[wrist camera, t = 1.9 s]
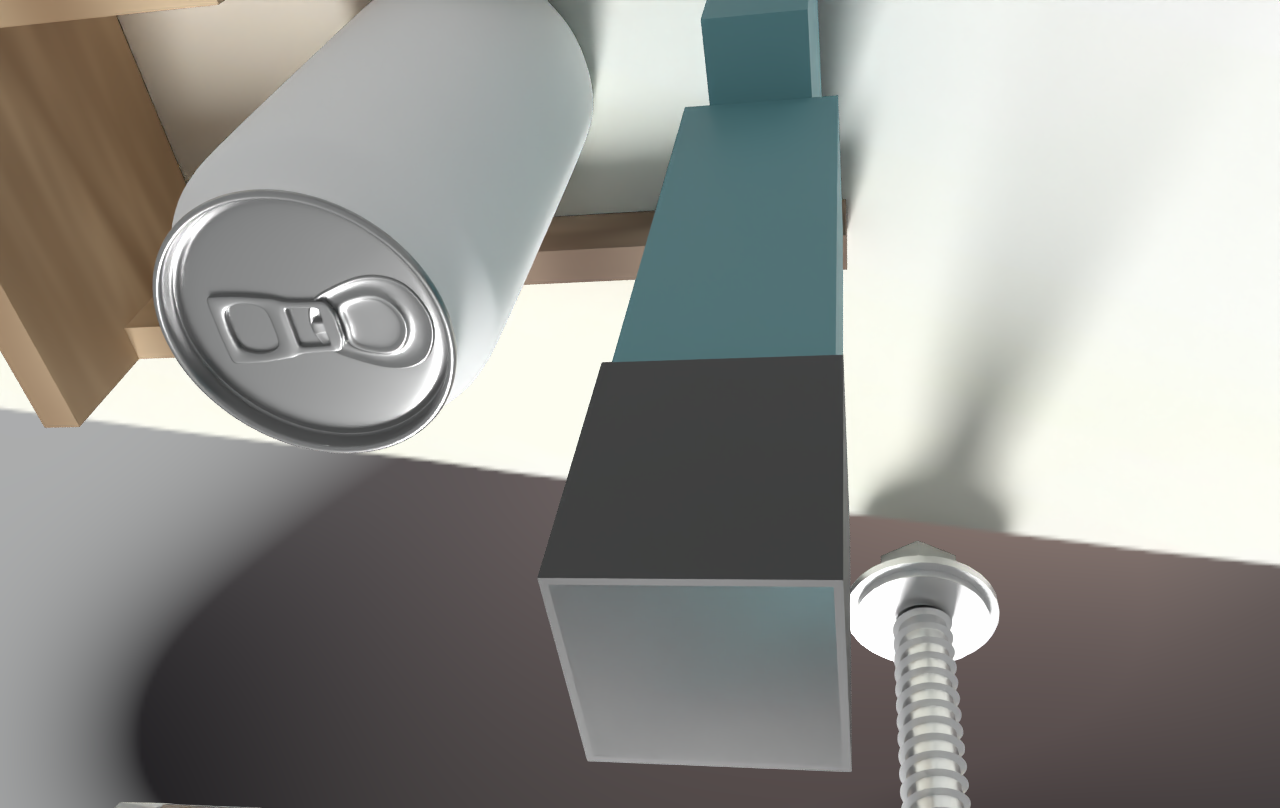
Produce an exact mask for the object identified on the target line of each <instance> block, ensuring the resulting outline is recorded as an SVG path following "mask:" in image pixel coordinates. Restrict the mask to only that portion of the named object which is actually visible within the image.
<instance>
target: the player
mask: <svg viewBox="0 0 1280 808" xmlns="http://www.w3.org/2000/svg"><path fill="white" fill-rule="evenodd" d="M701 26H702V35H703V45H704V54H705V64H706V73H707V82H708V92H709V101H710V105H709V106H696V107H685V109H684V113H683V116H682V120H681V123H680V127H679V130H678V134H677V137H676V141H675V144H674V147H673V151H672V154H671V158H670V161H669V165H668V168H667V172H666V175H665V179H664V182H663V186H662V189H661V193H660V196H659V200H658V203H657V207H656V210H655V214H654V217H653V221H652V224H651V228H650V231H649V235H648V238H647V242H646V245H645V249H644V252H643V256H642V259H641V263H640V266H639V270H638V273H637V277H636V280H635V284H634V287H633V291H632V294H631V298H630V301H629V305H628V308H627V312H626V315H625V319H624V322H623V326H622V329H621V333H620V336H619V340H618V343H617V346H616V350H615V353H614V357H613V360H612V362H602V364H601V367H600V370H599V374H598V377H597V380H596V384H595V387H594V390H593V394H592V397H591V401H590V404H589V407H588V411H587V414H586V417H585V421H584V424H583V427H582V431H581V434H580V437H579V441H578V444H577V447H576V451H575V454H574V457H573V461H572V464H571V467H570V471H569V474H568V477H567V481H566V485H565V488H564V491H563V494H562V498H561V501H560V504H559V508H558V511H557V514H556V518H555V521H554V525H553V528H552V531H551V534H550V538H549V541H548V545H547V548H546V551H545V555H544V558H543V561H542V565H541V568H540V571H539V575H538V582H539V585H540V589H541V593H542V596H543V600H544V603H545V607H546V611H547V615H548V618H549V622H550V626H551V629H552V633H553V636H554V640H555V644H556V648H557V651H558V654H559V659H560V662H561V666H562V670H563V673H564V677H565V680H566V684H567V687H568V691H569V695H570V698H571V702H572V706H573V710H574V713H575V717H576V720H577V724H578V728H579V732H580V735H581V739H582V743H583V746H584V750H585V754H586V757H587V761H598V762H622V763H623V762H624V763H648V764H649V763H650V764H672V765H697V766H721V767H744V768H769V769H793V770H794V769H795V770H817V771H818V770H819V771H842V772H852V765H851V764H852V763H851V762H852V759H851V756H852V754H851V611H850V525H849V496H848V469H847V442H846V416H845V389H844V362H843V222H842V193H841V165H840V136H839V107H838V95H836V96H823V97H822V90H821V67H820V44H819V21H818V0H707V1H706V4H705V7H704V11H703V14H702V17H701Z"/></svg>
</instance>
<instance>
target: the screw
mask: <svg viewBox="0 0 1280 808" xmlns="http://www.w3.org/2000/svg"><path fill="white" fill-rule="evenodd" d="M850 611H851V632H852V634H853V636H854V637H855V638H856V639H857V640H858V641H859V642H860V643H861V644H862V645H863V646H865V647H866V648H868V649H869V650H870V651H871V652H873V653H876V654H878V655H880V656H882V657H884V658H887V659H889V660H892V661H894V663H895V666H896V670H895V679H896V682H897V684H896V688H895V692H896V696H897V698H898V699H897V702H896V709H897V712H898V714H899V715H898V718H897V726H898V729H899V733H898V744H899V746H900V751H899V755H898V756H899V762H900V764H901V767H900V771H899V776H900V779H901V782H902V783H903V784H902V786H901V789H900V795H901V798H902V800H903V804H902V807H901V808H970V805H971V803H970V800H969V798H968V797H967V796H966V795H965V794H964V793H965V792H966V791H967V789H968V787H969V784H968V781H967V779H966V778H965V777H964V776H963V774H964V773H965V771H966V769H967V764H966V762H965V761H964V759H963V758H961V756H963V754H964V751H965V746H964V744H963V742H962V741H960V739H961V737H962V735H963V728H962V726H961V725H960V724H959V723H958V722H959V721H960V719H961V711H960V710H959V708H958V707H957V705H958V704H959V701H960V697H959V694H958V692H957V691H956V689H957V687H958V680H957V678H956V676H955V675H954V674H955V672H956V669H957V666H956V663H955V660H957V659H960V658H962V657H964V656H966V655H968V654H970V653H972V652H974V651H976V650H977V649H978V648H980V647H981V646H982V645H984V644H985V643H986V642H987V641H988V640H989V638H990V637H991V636H992V635H993V633H994V631H995V629H996V627H997V624H998V620H999V606H998V601H997V597H996V593H995V592H994V590H993V588H992V586H991V585H990V583H989V582H988V581H987V580H986V579H985V578H984V577H983V576H982V575H981V574H980V573H978V572H977V571H975V570H973V569H972V568H971V567H969V566H967V565H965V564H962V563H959V562H957V561H956V558H955V555H953V554H950V553H948V552H945V551H942V550H940V549H938V548H935V547H932V546H930V545H927V544H925V543H922V542H920V541H915V542H913V543H911V544H908V545H906V546H904V547H901V548H899V549H896V550H894V551H892V552H889V553H887V554H885V555H882V556H881V564H878V565H876V566H874V567H872V568H871V569H869V570H868V571H866V572H865V573H863V574H862V575H861V576H860V577H859V578H858V579H857V580H856V581H855V583H854V584H853V585H852V586H851V588H850Z"/></svg>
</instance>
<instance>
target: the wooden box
mask: <svg viewBox="0 0 1280 808" xmlns="http://www.w3.org/2000/svg"><path fill="white" fill-rule="evenodd" d="M223 1H224V0H0V351H1V353H2V354H3V356H4V358H5V360H6V361H7V363H8V365H9V367H10V368H11V370H12V372H13V373H14V375H15V377H16V379H17V380H18V382H19V384H20V386H21V387H22V389H23V391H24V393H25V394H26V396H27V398H28V399H29V401H30V403H31V405H32V406H33V408H34V410H35V412H36V413H37V415H38V417H39V418H40V420H41V422H42V424H43V425H44V427H45V428H47V427H48V428H50V427H80V426H81V425H82V423H83V422H84V421H85V420H86V419H87V418H88V417H89V415H90V414H91V413H92V412H93V411H94V410H95V409H96V407H97V406H98V405H99V404H100V403H101V402H102V401H103V400H104V398H105V397H106V396H107V395H108V394H109V393H110V392H111V390H112V389H113V388H114V387H115V386H116V385H117V384H118V382H119V381H120V380H121V379H122V378H123V377H124V376H125V374H126V373H127V372H128V371H129V370H130V369H131V368H132V366H133V365H134V364H135V363H136V362H137V361H138V360H139V359H148V358H175V356H174V355H173V353H172V351H171V349H170V348H169V346H168V344H167V342H166V340H165V338H164V335H163V333H162V331H161V328H160V325H159V322H158V319H157V315H156V311H155V307H154V301H153V289H152V284H153V271H154V265H155V261H156V257H157V254H158V252H159V249H160V247H161V245H162V243H163V241H164V239H165V237H166V236H167V234H168V233H169V231H170V230H171V229H172V223H173V218H174V214H175V210H176V207H177V204H178V201H179V199H180V196H181V194H182V192H183V190H184V188H185V186H186V183H185V180H184V178H183V176H182V173H181V171H180V168H179V166H178V163H177V161H176V159H175V156H174V154H173V151H172V149H171V147H170V144H169V142H168V139H167V137H166V135H165V132H164V130H163V127H162V125H161V122H160V120H159V118H158V115H157V113H156V110H155V108H154V106H153V103H152V101H151V98H150V96H149V94H148V91H147V89H146V86H145V84H144V82H143V79H142V77H141V74H140V72H139V69H138V67H137V65H136V62H135V60H134V57H133V55H132V53H131V50H130V48H129V45H128V43H127V41H126V38H125V36H124V33H123V31H122V28H121V26H120V24H119V21H118V19H117V16H116V15H126V14H135V13H144V12H154V11H163V10H173V9H182V8H192V7H201V6H210V5H219V4H220V3H222V2H223ZM654 214H655V211H644V212H627V213H610V214H594V215H577V216H560V217H553V218H552V221H551V223H550V225H549V228H548V230H547V232H546V235H545V237H544V239H543V241H542V244H541V246H540V248H539V250H538V253H537V255H536V257H535V260H534V262H533V264H532V266H531V269H530V271H529V273H528V275H527V278H526V280H525V282H524V284H523V285H530V284H551V283H572V282H593V281H614V280H635V279H636V277H637V273H638V270H639V266H640V263H641V259H642V256H643V252H644V249H645V245H646V242H647V238H648V235H649V231H650V228H651V224H652V221H653V217H654ZM842 222H843V270H845V269H847V221H846V199H844V200H842Z"/></svg>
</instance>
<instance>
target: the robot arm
mask: <svg viewBox="0 0 1280 808" xmlns="http://www.w3.org/2000/svg"><path fill="white" fill-rule="evenodd" d="M115 808H250V807H225V806H197V805H176V804H169V803H132V802H130V803H129V802H128V803H127V802H120V803H119V804H118V805H117V806H116V807H115ZM251 808H253V807H251Z"/></svg>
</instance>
